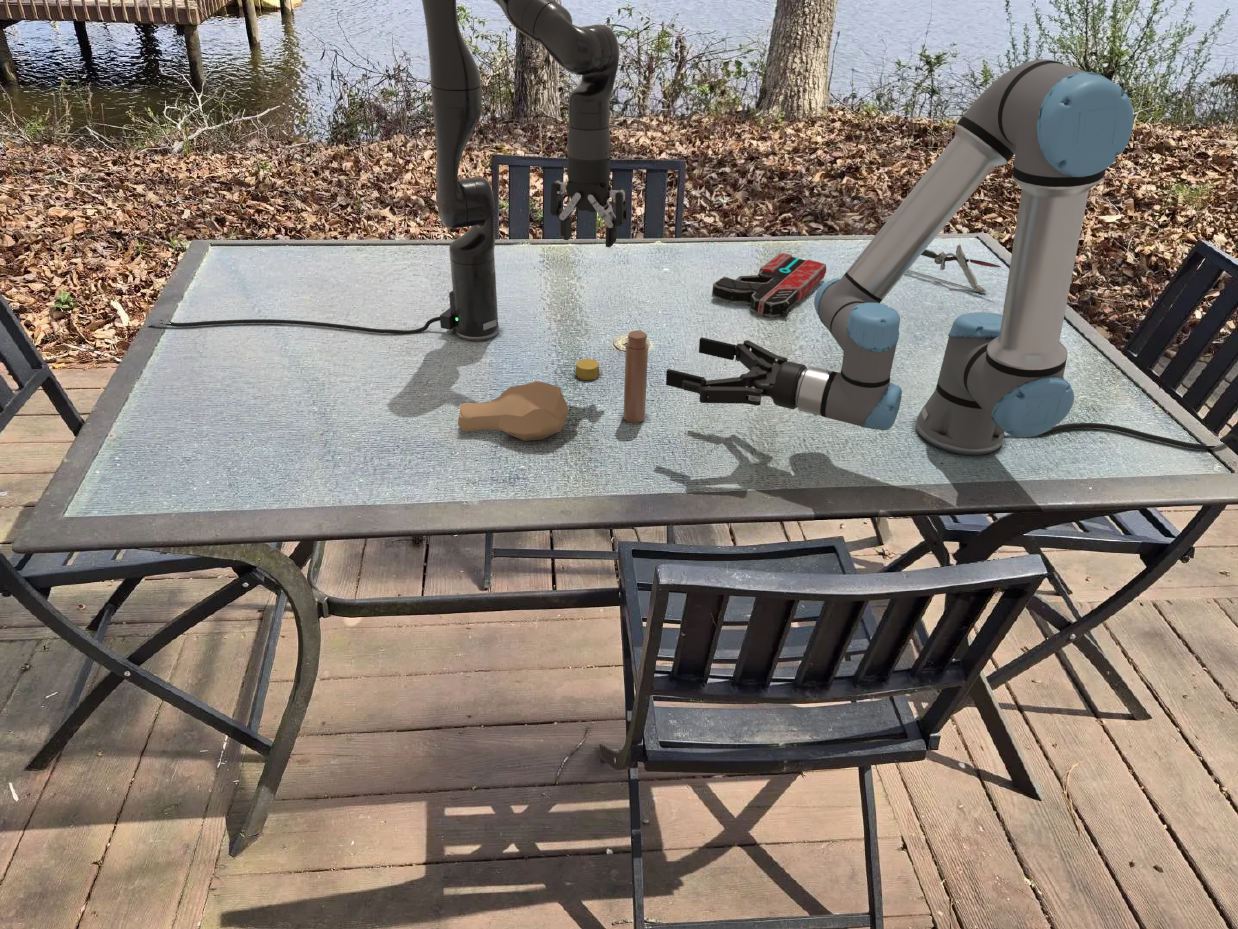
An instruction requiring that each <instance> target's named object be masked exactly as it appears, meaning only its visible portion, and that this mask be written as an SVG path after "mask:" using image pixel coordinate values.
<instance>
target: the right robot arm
mask: <svg viewBox="0 0 1238 929" xmlns="http://www.w3.org/2000/svg"><path fill="white" fill-rule="evenodd" d="M1133 108H1134V107H1133V104H1132V102H1131V99H1130V98H1129V95H1128V94H1127V93H1126V92H1125V90H1124V89H1123V88H1122V86H1120V85H1119V84H1117V83H1115V82H1113V81H1112V80H1110V79H1109V78H1107V77H1106V76H1104V75H1102V74H1100V73H1096V72H1093V71H1085V70H1082V69H1080V68H1076V67H1073V66H1070V65H1067V64H1065V63H1062V62H1060V61H1056V60H1054V59H1047V58H1046V59H1044V58H1043V59H1041V58H1040V59H1034V60H1029V61H1026V62H1023V63H1021V64H1018V65H1017V66H1015V67H1013V68H1011V69H1009V70H1008V71H1007V72H1005V73H1004V74H1002V75H1001V76H1000V77H998V78H997V79H996V80H995V81H994V82H993V83H991V84H990V85H989V86H988V87H987V88H986V89H985V90H984V91H983V92H982V93H981V94H980V95H979V97H977V99H976V100H975V101H974V102H973V103H972V104H971V105H970V106H969V108H968V109H967V110H966V111H965V113H964V114H963V115H962V116H961V118H959V120H958V121H957V122H956V124H955V125H954V137H953V138H952V139H951V141H950V142H949V143H948V145H947V146H946V147H945V148H944V149H943V151H942V152H941V153H940V155H939V156H938V157H937V158H936V159H935V161H934V162H933V163H932V164H931V166H930V167H929V168H928V170H927V171H926V172H925V174H924V175H923V176H921V178H920V180H919V181H918V182H917V183H916V184H915V186H914V187H913V188H912V189H911V191H910V192H909V193H908V195H907V196H906V197H905V198H904V200H903V201H902V202H901V203H900V204H899V205H898V207H897V208H896V210H895V211H894V212H893V213H892V214H891V216H889V218H888V219H887V221H886V222H885V223H884V224H883V225H882V227H881V228H880V229H879V231H878V232H877V234H876V236H874V237H873V238H872V240H871V241H870V242H869V243H867V246H866V247H865V248H864V249H863V250H862V252H861V253H860V254H859V256H858V257H857V258H856V259H855V260H854V262H853V263H852V264H851V265H850V266H849V268H848V269H847V270H846V272H845V273H844V274H843V275H842V276H841V278H839V277H838V278H832V279H830V280H828V281H826V282H824V283H822V284H821V285H820V287H819V288H818V289H817V291H816V293H815V296H814V299H813V305H814V306H813V307H814V310H815V312H816V314H817V316H818V319H819V321H820V322H821V323H822V324H823V326H824V327H825V328H826V330H828V331H829V333H830V334H831V336H832V337H833V339H834V340H835V341H836V343H837V344H838V346H839V347H840V348H841V350H842V352H843V355H842V363H841V369H840V372H838V371H834V370H830V369H826V368H821V367H817V366H812V365H810V366H809V367H807V366H806V364H802V363H799V362H793V361H790V360H789V359H788V358H787V357H784V356H782V355H777V354H776V353H773V352H772V351H770V350H768V349H766V348H764V347H762V346H760V345H758V344H757V343H755V342H753V341H751V340H749V339H746V340H743V343H737V344H734V343H729V342H725V341H720V340H715V339H710V338H706V337H699V340H698V341H699V342H698V343H699V344H698V353H699V354H703V355H707V356H712V357H717V358H720V359H724V360H729V361H734V360H735V362H739V363H741V364H742V365H743V366H744V367H745V368H746V369H747V370H749V371H747V372H746V373H742V374H741V375H740V376H736V377H728V378H726V377H725V378H718V379H709V380H706V378H705V376H699V375H696V374H691V373H687V372H683V371H680V370H674V369H671V368H668V369H666V373H665V386H669V387H672V388H676V389H679V390H680V389H681V390H684V391H687V392H691V393H695V394H698V395H699V403H700V404H736V405H737V404H738V405H739V404H740V405H741V404H744V405H745V404H747V405H751V406H756V407H757V406H760V405H761V402H762V398H763V397H770V398H771V399H772V402H773V404H774V405H775V406H777V407H781V408H784V409H790V410H796V409H798V411H799V412H802V413H807V414H810V415H813V416H815V417H823V418H827V419H831V420H835V421H839V422H843V423H846V424H850V425H854V426H857V427H860V428H863V429H869V430H875V431H883V432H885V431H889V430H890V429H891V428H892V427H893V425H894V424H895V421H896V419H897V416H898V413H899V410H900V406H901V401H902V395H903V390H902V387H901V386H899V385H897V384H895V383H892V382H891V374H892V367H893V363H894V358H895V354H896V349H897V345H898V342H899V338H900V325H901V324H900V323H901V316H900V313H899V311H898V310H896V309H895V308H894V307H890V306H888V305H887V304H885V303H882V301H883V300H884V299H885V298H886V297H887V296H888V294H889V293H890V292H891V291H892V289H893V288H894V287H895V286H896V285H897V284H898V282H899V281H900V280H901V279H902V278H903V276H904V275H905V274H907V272H908V270H910V268H911V267H912V266H913V265H914V263H916V261H917V260H918V259H919V257H921V256H922V255H921V254H922V253H923V252H924V250H925V249H926V250H927V248H928V247H929V246H930V245H931V243H932V242H933V241H934V240H935V239H936V237H937V236H938V235H939V234H940V233H941V231H942V230H943V229H944V228H945V227H946V226H947V224H948V223H949V222H950V221H951V220H952V219H953V217H954V216H955V215H956V214H957V213H958V211H959V210H960V209H961V208H962V206H963V205H964V204H965V203H966V202H967V201H968V200H969V199H970V197H971V196H972V195H973V194H974V192H975V191H976V190H977V189H978V188H979V186H980V185H981V184H982V183H983V182H984V180H986V178H988V176H989V175H990V173H991V172H992V171H993V170H994V169H995V168H996V167H999V166H1005V165H1007V164H1008V163H1009V162H1010V160H1011V159H1012V158H1013V157H1014V159H1013V165H1012V172H1011V176H1012V179H1013V180H1014V181H1015V183H1016V184H1017V185H1018V187H1020V188H1021V190H1020V191H1021V192H1020V196H1019V203H1018V204H1019V205H1018V211H1017V218H1016V224H1015V230H1014V237H1013V244H1012V250H1011V257H1010V263H1009V270H1008V276H1007V282H1006V290H1005V296H1004V303H1003V309H1002V314H1001V313H994V312H985V311H984V312H983V311H982V312H981V311H979V312H968V313H967V312H966V313H963V314H961V315H959V316H957V317H956V318H955V319H954V320H953V322H952V325H951V328H950V330H949V332H948V335H947V336H948V339H947V343H946V346H945V350H944V355H943V359H942V363H941V367H940V370H939V374H938V379H937V382H936V383H937V384H936V386H935V389H934V391H933V393H932V394H931V395H930V397H929V398H928V400H927V401H926V403H925V404H924V405H923V406H922V408H921V410H920V412H919V413H918V416H917V419H916V423H915V429H916V431H917V433H918V435H919V436H920V437H921V438H922V439H923V440H924V441H925V442H927V443H928V444H930V445H932V446H933V447H935V448H937V449H940V450H942V451H946V452H948V453H952V454H957V455H963V456H983V455H989V454H991V453H994V452H996V451H997V450H999V449H1000V448H1001V446H1002V444H1003V441H1004V438H1005V433H1007V434H1008V435H1010V436H1012V437H1016V438H1030V437H1031V438H1032V437H1035V436H1042V435H1043V436H1044V435H1048V434H1052V433H1055V432H1058V431H1063V430H1074V429H1100V430H1107V431H1108V430H1109V431H1115V432H1120V433H1124V434H1128V435H1132V436H1135V437H1139V438H1142V439H1146V440H1149V441H1150V440H1151V441H1155V442H1159V443H1164V444H1168V445H1172V446H1176V447H1181V448H1187V449H1191V450H1192V449H1193V450H1211V449H1215V448H1216V447H1215V446H1204V444H1205V443H1194V442H1188V441H1182V440H1178V439H1174V438H1169V437H1165V436H1160V435H1156V434H1150V433H1148V432H1144V431H1139V430H1136V429H1132V428H1128V427H1124V426H1120V425H1115V424H1107V423H1100V422H1076V423H1075V422H1073V423H1063V424H1060V423H1061V422H1063V421H1064V419H1065V418H1066V417H1067V416H1068V415H1069V414H1070V412H1071V410H1072V408H1073V406H1074V402H1075V392H1074V389H1073V388H1072V385H1071V384H1070V382H1069V381H1068V380H1066V379H1065V378H1064V377H1065V376H1064V375H1065V370H1066V365H1067V360H1068V349H1067V347H1066V346H1065V345H1064V344H1063V343H1062V342H1061V335H1062V331H1063V330H1062V328H1063V325H1064V319H1065V315H1066V310H1067V305H1068V299H1069V294H1070V289H1071V284H1072V279H1073V274H1074V268H1075V264H1076V259H1077V253H1078V248H1079V242H1080V237H1081V233H1082V228H1083V222H1084V217H1085V213H1086V206H1087V202H1088V198H1089V193H1090V192H1089V191H1090V190H1091V189H1092V188H1094V187H1095V186H1097V185H1099V183H1101V182H1102V181H1103V180H1104V178H1105V174H1106V169H1108V168H1109V167H1111V166H1112V165H1113V164H1114V163H1115V162H1116V158H1117V156H1119V155H1122V154H1123V152H1124V151H1125V149H1127V146H1128V144H1129V141H1130V140H1131V137H1132V133H1133V128H1134V119H1135V118H1134V109H1133ZM1219 439H1220V441H1221V442H1223V444H1225V443H1227V442H1228V441H1229V440H1231V441H1232V442H1233V443H1238V436H1237V435H1236V434H1235V433H1228V434H1226V435H1224V436H1222V437H1220V438H1219Z"/></svg>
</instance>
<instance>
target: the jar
mask: <svg viewBox="0 0 1238 929" xmlns="http://www.w3.org/2000/svg"><path fill="white" fill-rule="evenodd" d="M627 338H628V339H627V342H626V344H625V356H624V357H625V361H624V364H625V365H624V386H623V388H624V390H623V391H624V392H623V419H624V421H625V422H628V423H631V424H638V423H639V424H640V423H642V422H644V421H645V420H646V404H647V403H646V401H647V383H648V381H647V380H648V363H649V362H648V358H649V344H648V343H647V338H648V334H647V332H645V331H642V330H632V331H630V332H628V335H627Z"/></svg>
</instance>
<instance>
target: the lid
mask: <svg viewBox="0 0 1238 929" xmlns="http://www.w3.org/2000/svg"><path fill="white" fill-rule="evenodd" d="M575 364H576V366H575V375H576V377H577V378H578V379H581V380H585V381H591V380H595V379H597V378H599V376H600V363H599V361H597V360H596V359H592V358H583V359H579V360H578V361H577V362H576V363H575Z"/></svg>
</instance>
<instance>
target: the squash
mask: <svg viewBox="0 0 1238 929" xmlns="http://www.w3.org/2000/svg"><path fill="white" fill-rule="evenodd" d="M569 409H570V408H569V405H568V404H567V402H566V399H565V397H564V395H563V393H562V389H561V387H560V386H557V385H554V384H550V383H548V382H544V381H537V380H535V381H531V382H528V383H525V384H520V385H515V386H509V387H508V388H507V389H506V390H504V391H502V393H501V394H500V395H499V396H498V397H496V398H494V399H493V400H490V401H484V402H483V401H482V402H476V403H474V402H463V403H460V404H459V413H458V420H457V426H458V427H460V429H461V430H462V431H463V432H464V433H465V432H475V431H486V430H487V431H488V430H492V431H498V432H504V433H506V434H508V435H509V436H511V437H514V438H516V439H519V440H521V441H523V442H524V441H525V442H526V441H541V440H544V439H546V438H549V437H550V436H552V435H554V434H557V433H559V432H561V431H562V430H563V428H564V426H565V424H566V421H567V418H568V413H569Z"/></svg>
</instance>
